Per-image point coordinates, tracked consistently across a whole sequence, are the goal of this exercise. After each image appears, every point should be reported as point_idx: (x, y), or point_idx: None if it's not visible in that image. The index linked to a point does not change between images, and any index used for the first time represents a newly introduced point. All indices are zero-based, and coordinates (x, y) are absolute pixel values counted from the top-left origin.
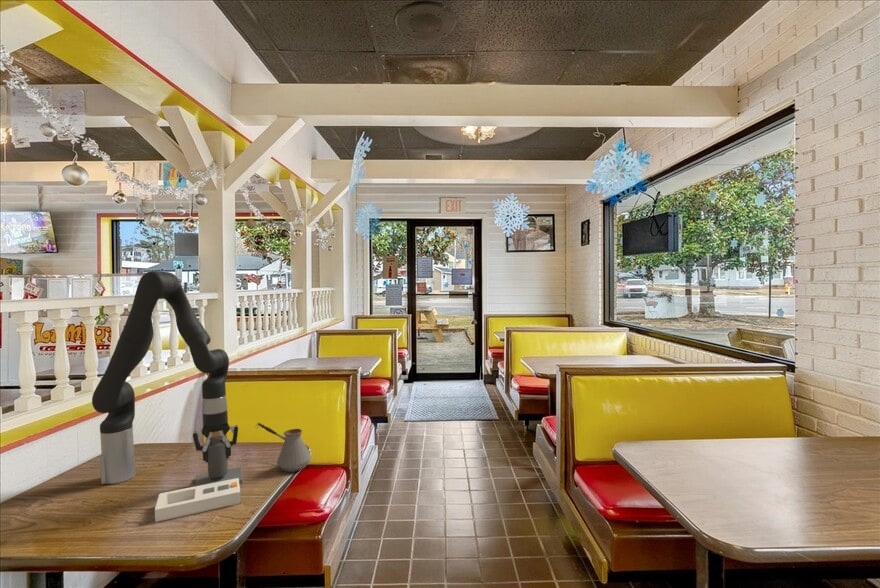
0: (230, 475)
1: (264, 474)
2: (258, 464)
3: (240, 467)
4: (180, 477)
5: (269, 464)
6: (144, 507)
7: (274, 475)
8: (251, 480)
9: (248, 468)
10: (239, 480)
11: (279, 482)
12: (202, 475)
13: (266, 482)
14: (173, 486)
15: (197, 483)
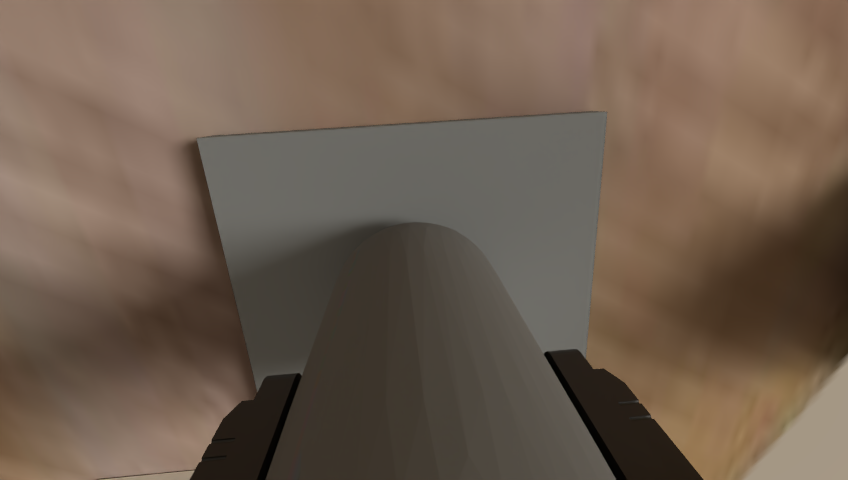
0: (509, 279)
1: (734, 287)
2: (759, 30)
3: (605, 129)
4: (29, 13)
5: (837, 85)
6: (5, 476)
7: (785, 332)
8: (633, 351)
9: (658, 96)
10: None
11: (771, 440)
12: (265, 170)
13: (708, 413)
14: (56, 221)
15: (263, 331)
